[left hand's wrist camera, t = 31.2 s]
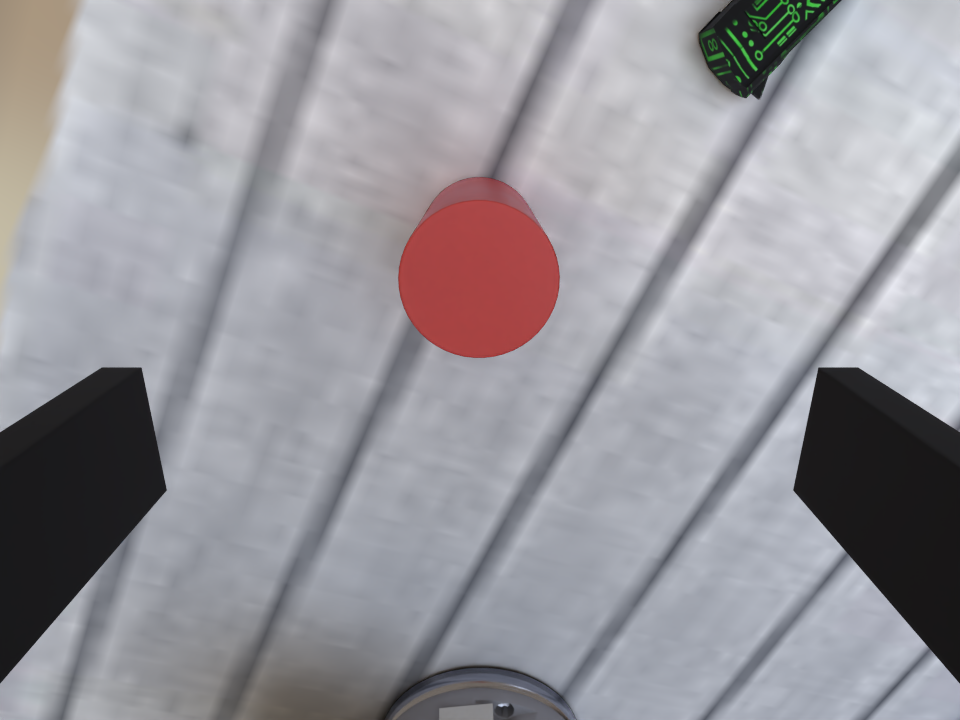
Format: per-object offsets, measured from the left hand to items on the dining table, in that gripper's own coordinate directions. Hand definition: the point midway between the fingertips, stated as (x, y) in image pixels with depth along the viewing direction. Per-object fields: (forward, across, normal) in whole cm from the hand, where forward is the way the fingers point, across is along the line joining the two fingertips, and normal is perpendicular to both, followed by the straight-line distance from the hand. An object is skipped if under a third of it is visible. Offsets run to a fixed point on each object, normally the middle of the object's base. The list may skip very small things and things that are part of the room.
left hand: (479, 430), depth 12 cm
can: (+23, 0, 0) cm, 23 cm away
